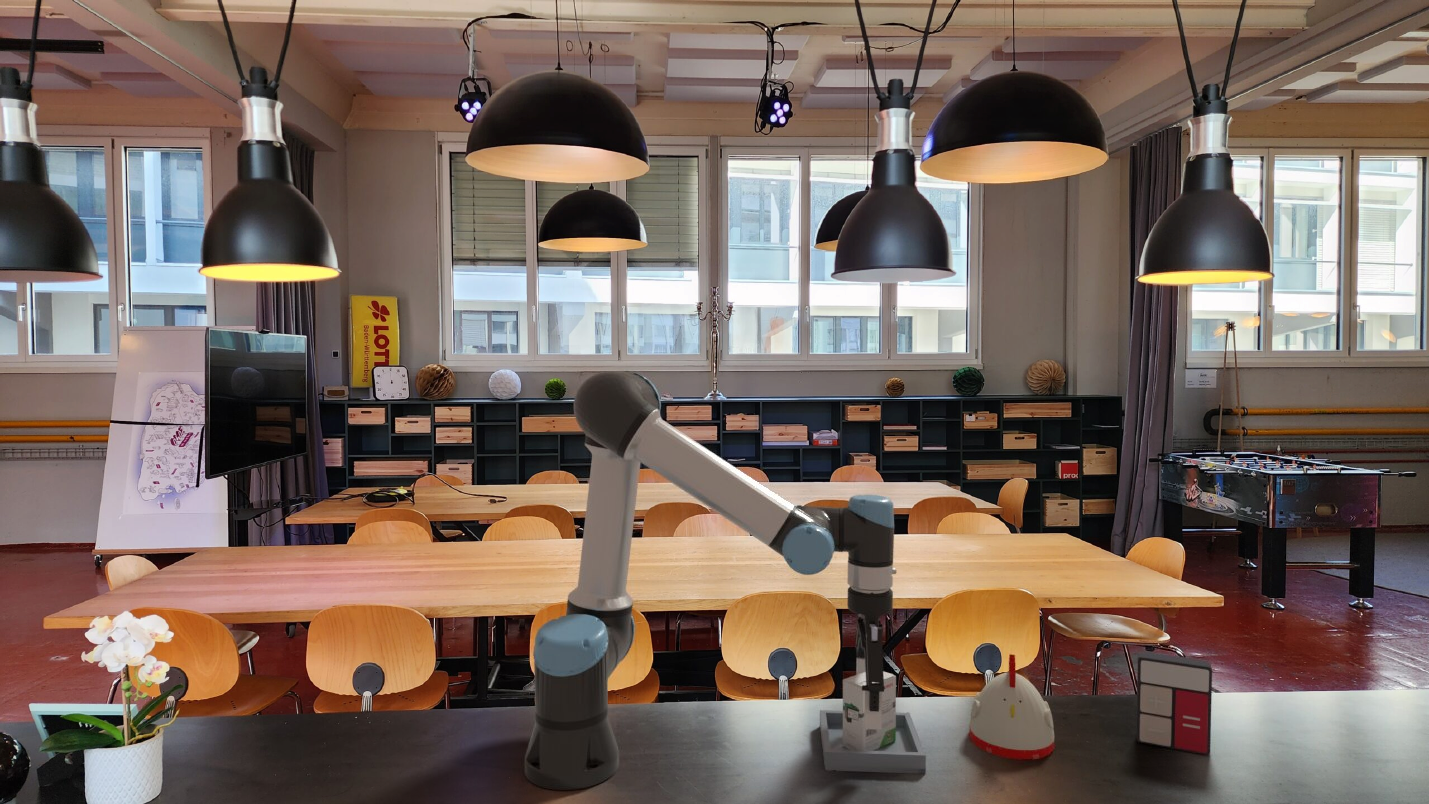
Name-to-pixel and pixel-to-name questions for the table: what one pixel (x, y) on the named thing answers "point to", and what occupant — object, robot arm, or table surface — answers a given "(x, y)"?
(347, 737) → the table surface
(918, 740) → the tray
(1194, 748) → the calculator
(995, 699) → the kitchen timer
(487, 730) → the table surface
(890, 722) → the ink box
